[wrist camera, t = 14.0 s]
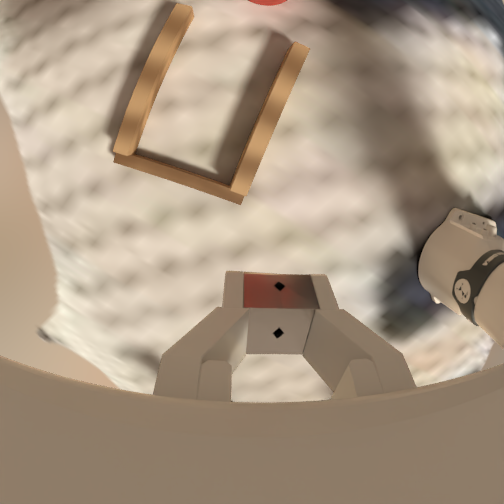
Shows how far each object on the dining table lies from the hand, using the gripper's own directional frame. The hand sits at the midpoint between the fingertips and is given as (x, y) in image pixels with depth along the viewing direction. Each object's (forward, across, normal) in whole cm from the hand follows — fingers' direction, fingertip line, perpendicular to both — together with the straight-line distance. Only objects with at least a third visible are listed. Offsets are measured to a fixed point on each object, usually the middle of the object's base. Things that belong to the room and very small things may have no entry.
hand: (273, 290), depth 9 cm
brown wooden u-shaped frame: (+30, +6, -5) cm, 31 cm away
